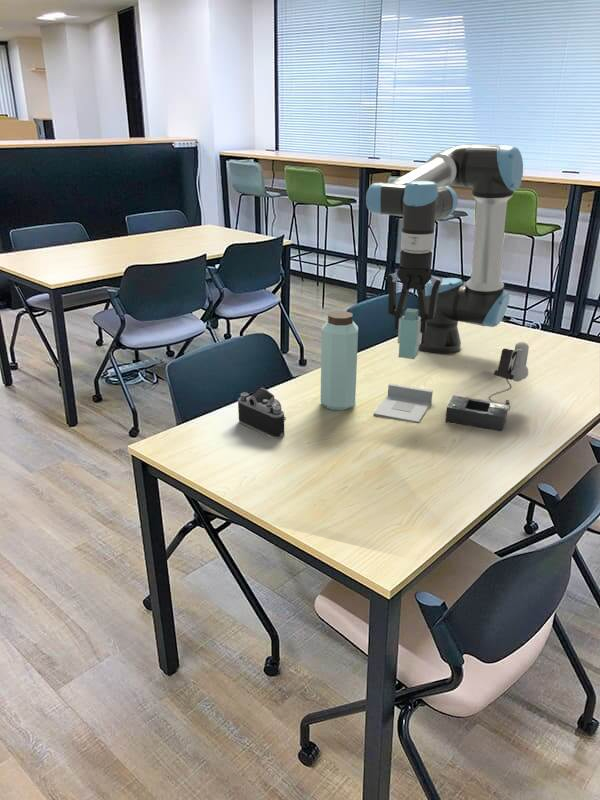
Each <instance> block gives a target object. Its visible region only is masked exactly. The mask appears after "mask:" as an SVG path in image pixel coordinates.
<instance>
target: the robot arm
mask: <svg viewBox="0 0 600 800" xmlns="http://www.w3.org/2000/svg"><path fill="white" fill-rule="evenodd" d="M523 177H524V161H523V157H522V153H521V151H520V149H519V148H517V147H516V146H513V145H504V144H468V143H467V144H460V145H456V146H454V147H453V146H452V147H450V148H447V149H445V150H442V151H440V152H437V153H436V154H434V155H431V156H430V158H429V159H428V160H427V162H426V163H424V164H423V165H421V166H419V167H417V168H415V169H413V170H411V171H410V172H409V171H408V173H406V174H404V175H402V176H400V177H398V178H396V179H394V180H392V181H390V182H387V183H385V182H381V181H380V182H373V183H372V184H370V185H369V187H368V188H367V190H366V194H365V201H366V202H365V205H366V208H367V210H368V211H369V212H370V213H372V214H379V215H381V216H382V215H387V216H397V217H402V227H401V240H400V248H401V251H400V254H399V266H398V267H399V268H398V270H397V271H396V272H394V273H393V272H390V273H389V274H388V275H387V276H386V281H387V284H388V304H387V305H388V306H387V307H388V309H387V312H388V314H389V315H392V316H394V318H395V319H394V329H395V330H397V331H398V332H397V333H398V334H397V344H400V329H401V319H402V318H403V317H404V315H403V314H404V309H405V306H406V302H407V297H408V295H409V291H410V290H412V289H413V290H415V291H416V295H417V298H418V299H417V300H418V308H419V317H421V318H420V319H419V320H418V323H417V336H416V346H419V348H418V351H420V350H421V351H420V352H424V353H426V352H427V353H426V354H433V355H450V354H454V353H457V352H459V351H460V350H461V346H462V340H461V336H460V332H459V328H458V322H460V323H466V324H471V325H476V326H481V327H489V328H494V327H497V326H499V325H500V324H501V322H502V320H503V319H504V316H505V314H506V312H507V309H508V306H509V302H510V293H509V292H508V291H506V290H504V287H505V283H504V282H503V281H502V280H501V279H500V278H501V266H502V256H503V247H504V237H505V236H504V235H505V226H506V215H507V208H508V207H507V206H508V201H510V199H511V198H512V197H513V196H514V192H515V191H516V190H518V189H519V188H520V187H521V184H522V179H523ZM452 187H465V188H472V189H471V196H472V197H473V198H474V199H475V201H476V209H475V221H474V233H473V234H474V236H473V245H472V246H473V247H472V248H473V249H472V260H471V262H472V263H471V274H470V278H469V279H468V280H467V281H466V282H465V284H464V285H463V280H462V279H461V278H457V277H447V278H446V277H443V278H442V277H436V276H434V275H433V272H432V261H433V259H432V258H433V252H432V250H433V248H434V236H435V225H436V221H437V220H440V219H441V220H443V219H446V218H447V217H448V216H450V215H451V214H453V213H454V212H455V211H456V210H457V209H456V208H457V206H458V203H459V197H458V194H457V192H456V190H455V189H454V188H452ZM398 279H399V281H400V282H401V284H402V287H401V291H400V296H399V300H398V303H397V281H398Z"/></svg>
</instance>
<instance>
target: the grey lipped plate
mask: <svg viewBox="0 0 600 800" xmlns="http://www.w3.org/2000/svg"><path fill="white" fill-rule="evenodd" d="M432 401H433V390H432V389H426V388H422V387H421V388H420V387H415V386H408V385H402V384H395V383H389V384H388V386H387V395H386V397H385V398H384V399H383V400H382V402H381V403H380V404H379V405H378V407H377V409H375V411H374V412H373V416H374V417H380V418H386V419H391V420H397V421H404V422H409V423H417V424H419V423H421V421H422V419H423V417H424V415H425V414H426V413H427V411H428V409H429V408H430V406H431V405H432Z"/></svg>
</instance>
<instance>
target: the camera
mask: <svg viewBox="0 0 600 800" xmlns="http://www.w3.org/2000/svg"><path fill="white" fill-rule="evenodd" d="M237 410H238V422H239V423H240V424H241V425H244V426H246V427H248V428H251V429H252V430H255V431H257V432H259V433H261V434H263V433H264V434H263V435H265V434H266V435H265V436H268V435H269V436H268V437H270V436H271V437H270V438H272V437H273V439H276V438H278V439H282V438H284V437H285V421H286V419H287V417H285V412H284V410H282V404H281V402H280V401H279V400H278V399H276V398H275V394H273V393H272V392H270V391H269V390H268V389H266V388H264V387H260V388H259V389H258V390H257V391H255V392H254V393H253V394H251V395H250V394H249V393H248V392H242V393H240V397H239V398H238V399H237ZM283 436H284V437H283Z"/></svg>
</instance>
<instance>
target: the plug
mask: <svg viewBox="0 0 600 800" xmlns="http://www.w3.org/2000/svg"><path fill="white" fill-rule="evenodd" d="M419 314H420V309H417V308H410V307H408V308H406V310H404V315H403V316H404V317H403V318H402V319H401V329H400V344H399V343H398V344H399V347H398V358H402V359H409V360H415V359H417V357H418V356H419V349H418V348H419V346H416V336H417V323H418V320H419V319H420V318H421V317H420V316H419Z"/></svg>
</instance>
